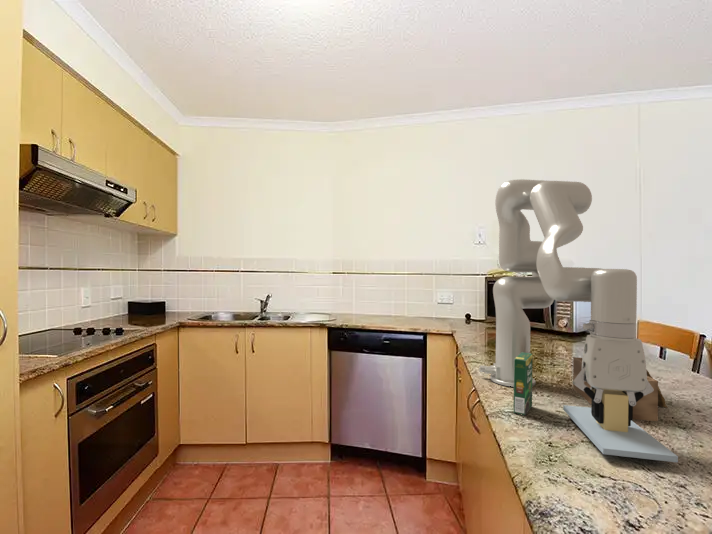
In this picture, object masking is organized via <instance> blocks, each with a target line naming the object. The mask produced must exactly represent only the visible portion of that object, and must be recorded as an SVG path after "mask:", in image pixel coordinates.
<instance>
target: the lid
mask: <svg viewBox="0 0 712 534" xmlns="http://www.w3.org/2000/svg"><path fill="white" fill-rule="evenodd" d="M601 400H602V402H601V403H603V405H604V423H603V424H600V423H598V422H597V421H596V420H595V419H594V417H593V416H592V414H591V407H587V406H576V405H566V404H564V405H562V410H563V411H564V412H565V413H566V414H567V415H568V417H569V418H570V419H571V420H572V421H573V423H575V424H576V426H577V427H578V428H579V429H580V430H581V431H582V433H584V434H585V436H586V437H587V438H588V439H589V440H590V441H591V442H592V444H594V445H595V447H596V448H597V449H598V450H599V451H600V452H601V453H602V455H606V456H607V455H608V456H619V457H626V458H635V459H636V458H637V459H643V460H653V461H661V462H663V461H664V462H671V463H678V462H679V456H678V455H677V454H676V453H674V452H673V451H672V450H670V449H669V448H668V447H666V446H665V445H664V444H663V443H662V442H660V441H659V440H657V438H655V437H654V436H652V435H651V434H649V433H648V432H647V431H646V430H644V429H643V428H642V427H640V426H639V424H637V423H635V422H634V421H633V420H632V421H631V426H628V395H626V394H625V393H623V392H622V391H617V390H605V389H604V390H603V395H602V399H601Z"/></svg>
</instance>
